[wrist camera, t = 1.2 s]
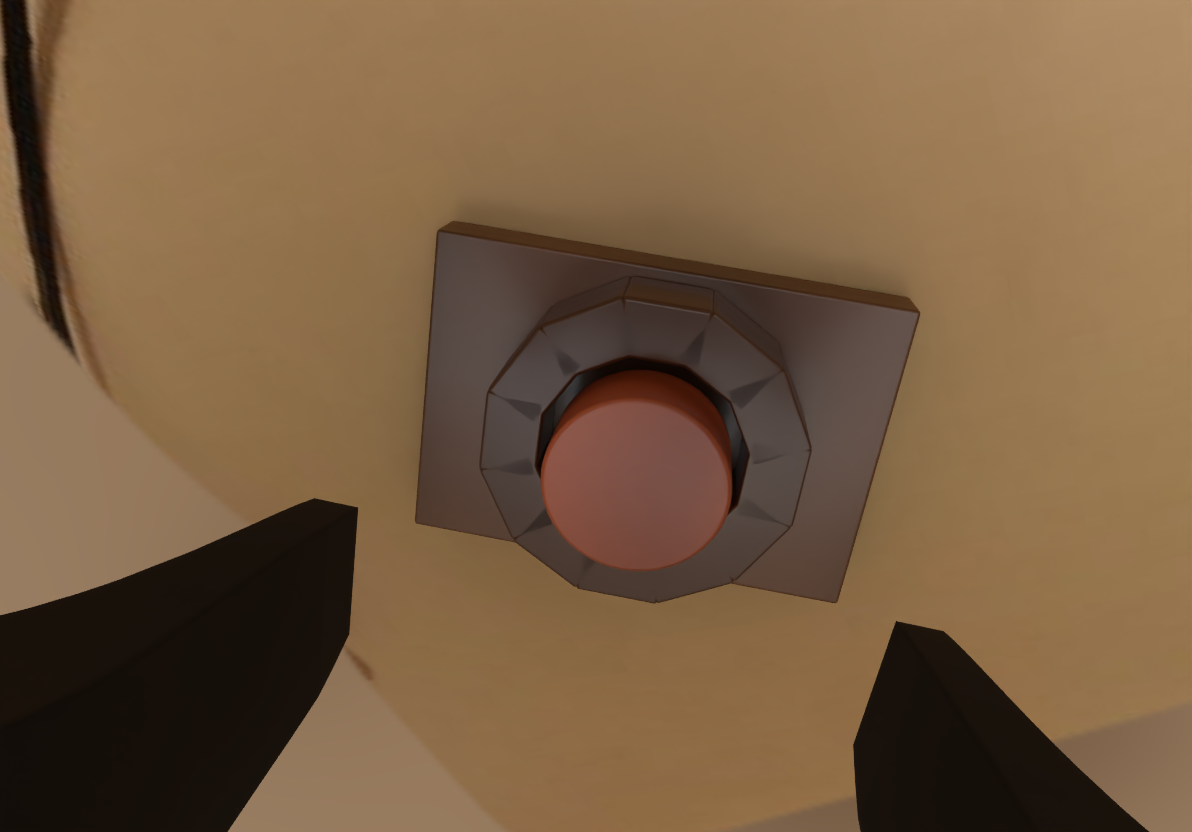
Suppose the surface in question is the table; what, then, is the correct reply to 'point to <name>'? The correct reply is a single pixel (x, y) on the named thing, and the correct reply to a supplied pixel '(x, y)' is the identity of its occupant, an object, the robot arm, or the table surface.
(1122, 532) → the table surface
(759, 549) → the switch block
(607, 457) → the button
